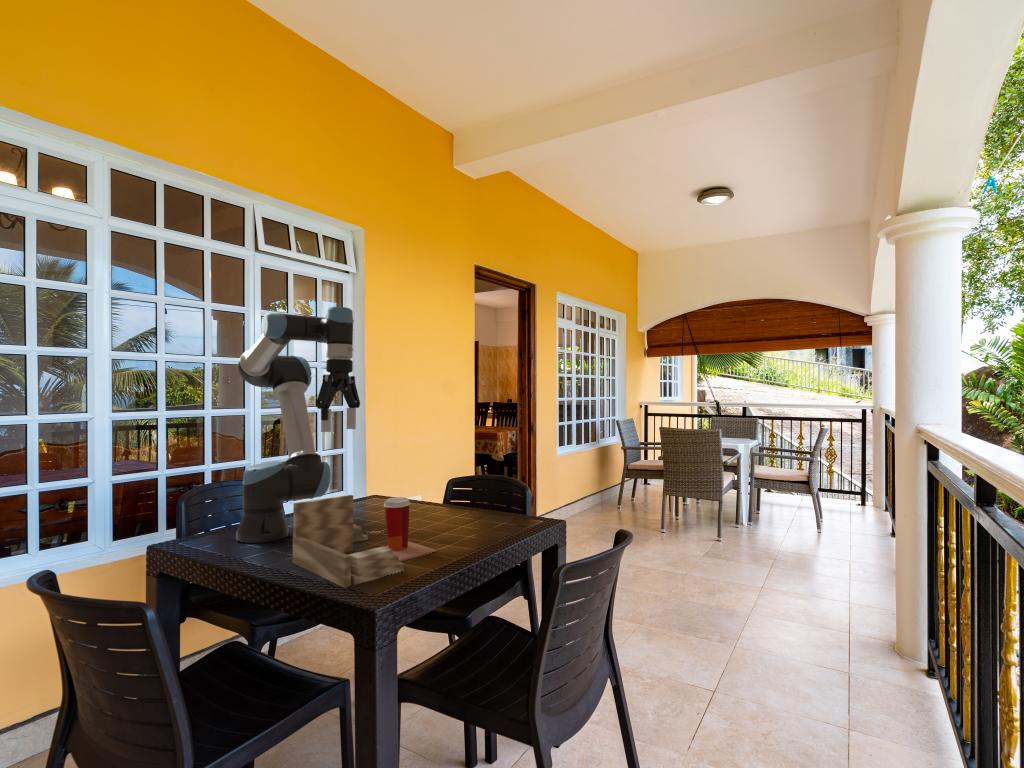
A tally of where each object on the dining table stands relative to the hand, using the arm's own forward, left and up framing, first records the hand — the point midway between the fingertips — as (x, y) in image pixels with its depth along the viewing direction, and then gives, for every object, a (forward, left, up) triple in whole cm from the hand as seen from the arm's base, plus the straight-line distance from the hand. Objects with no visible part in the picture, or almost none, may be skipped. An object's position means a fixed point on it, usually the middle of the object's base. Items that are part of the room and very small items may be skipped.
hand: (339, 430), depth 161 cm
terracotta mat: (0, +20, -35) cm, 40 cm away
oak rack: (+15, +12, -35) cm, 40 cm away
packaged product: (-13, -6, -35) cm, 38 cm away
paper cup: (-2, +18, -34) cm, 39 cm away
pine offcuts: (+20, +23, -35) cm, 46 cm away
